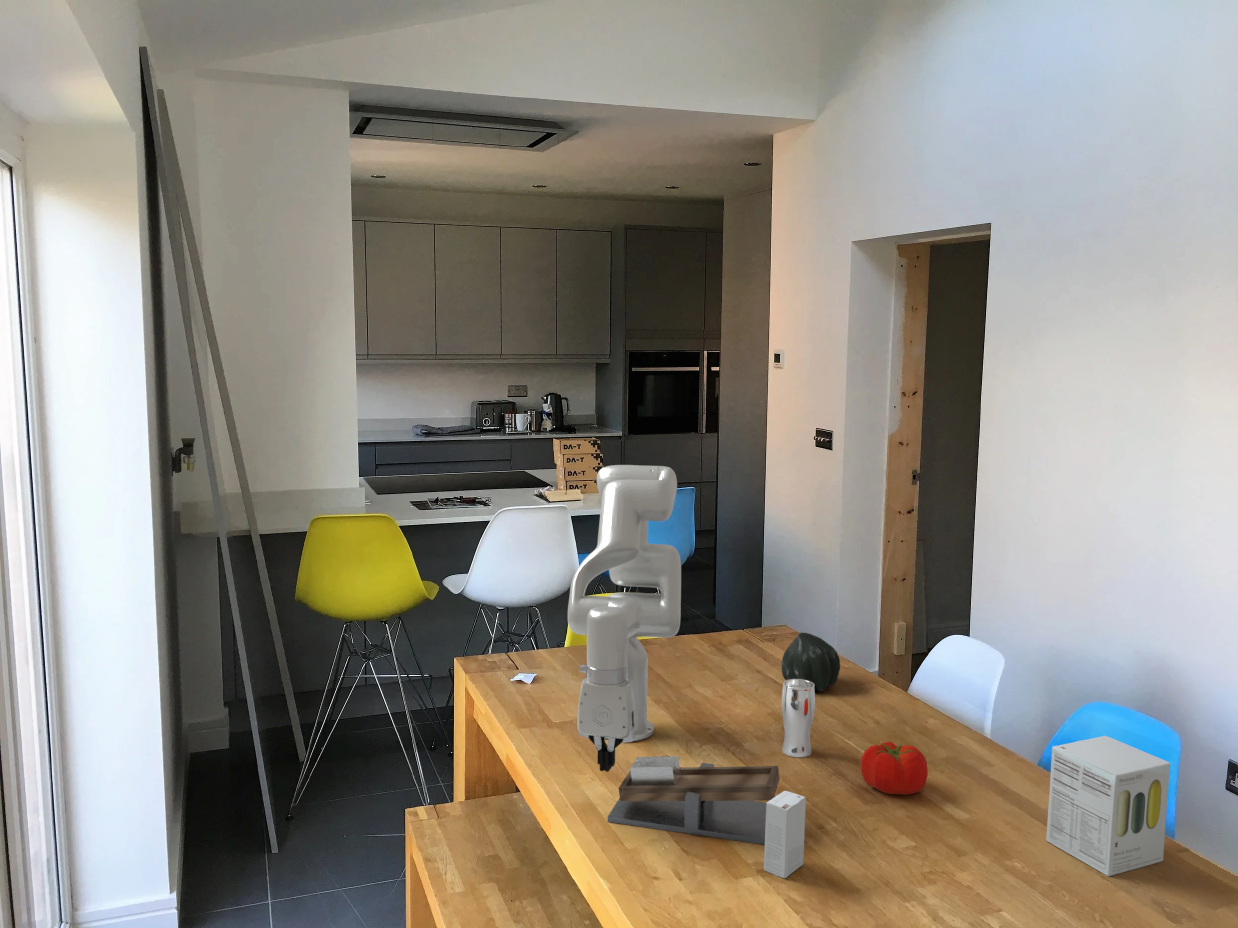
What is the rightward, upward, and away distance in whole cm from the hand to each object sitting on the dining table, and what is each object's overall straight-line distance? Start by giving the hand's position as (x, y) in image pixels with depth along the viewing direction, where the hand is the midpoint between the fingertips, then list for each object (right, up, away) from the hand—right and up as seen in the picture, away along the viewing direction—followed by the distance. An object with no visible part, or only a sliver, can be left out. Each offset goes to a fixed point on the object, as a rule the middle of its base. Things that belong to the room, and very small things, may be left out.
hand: (606, 768), depth 184 cm
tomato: (+56, -7, +8) cm, 57 cm away
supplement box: (+86, -10, -16) cm, 88 cm away
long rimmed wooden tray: (+17, -3, -5) cm, 18 cm away
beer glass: (+40, -5, +25) cm, 48 cm away
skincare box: (+30, -10, -22) cm, 38 cm away
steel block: (+9, -2, -3) cm, 10 cm away
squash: (+51, 0, +67) cm, 84 cm away
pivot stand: (+17, -8, -4) cm, 19 cm away
